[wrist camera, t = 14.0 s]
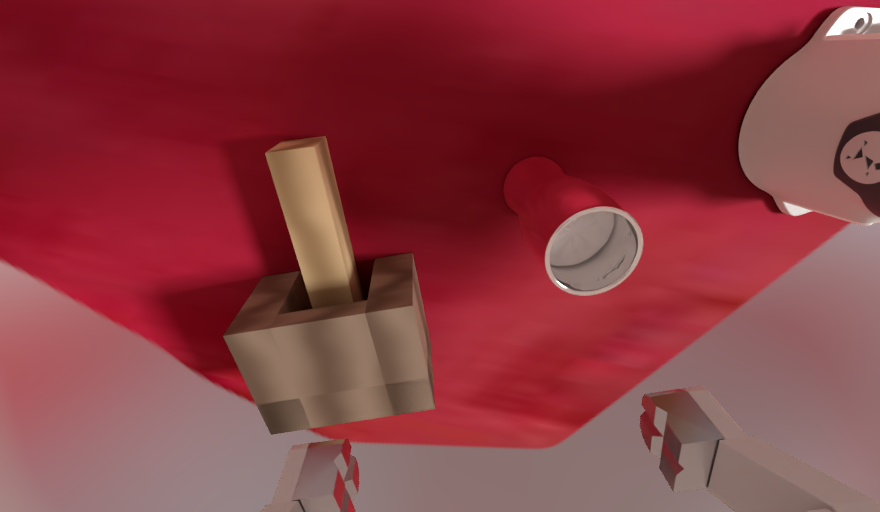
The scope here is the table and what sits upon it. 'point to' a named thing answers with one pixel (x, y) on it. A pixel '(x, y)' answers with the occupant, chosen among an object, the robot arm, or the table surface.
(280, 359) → the end cap
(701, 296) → the table surface
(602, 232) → the beer glass
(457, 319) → the table surface
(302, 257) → the slat
